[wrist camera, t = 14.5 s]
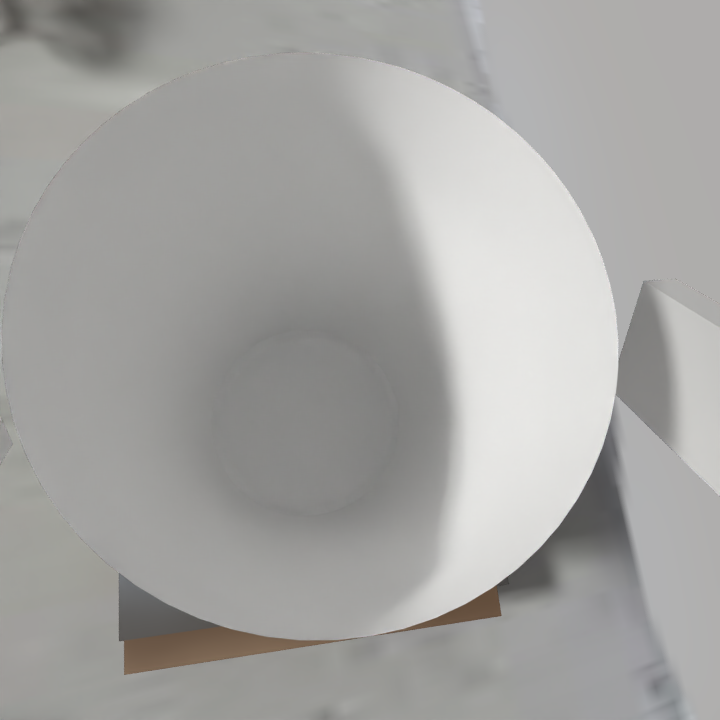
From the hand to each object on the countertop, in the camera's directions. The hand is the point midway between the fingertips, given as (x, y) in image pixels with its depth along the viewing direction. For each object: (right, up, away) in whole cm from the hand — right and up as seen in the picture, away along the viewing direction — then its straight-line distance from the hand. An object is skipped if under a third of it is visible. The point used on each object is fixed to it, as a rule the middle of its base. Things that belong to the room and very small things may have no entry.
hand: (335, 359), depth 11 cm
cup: (-1, -2, +9) cm, 9 cm away
